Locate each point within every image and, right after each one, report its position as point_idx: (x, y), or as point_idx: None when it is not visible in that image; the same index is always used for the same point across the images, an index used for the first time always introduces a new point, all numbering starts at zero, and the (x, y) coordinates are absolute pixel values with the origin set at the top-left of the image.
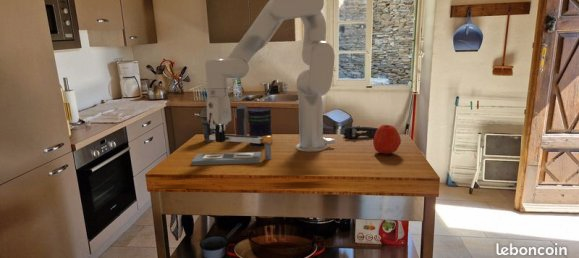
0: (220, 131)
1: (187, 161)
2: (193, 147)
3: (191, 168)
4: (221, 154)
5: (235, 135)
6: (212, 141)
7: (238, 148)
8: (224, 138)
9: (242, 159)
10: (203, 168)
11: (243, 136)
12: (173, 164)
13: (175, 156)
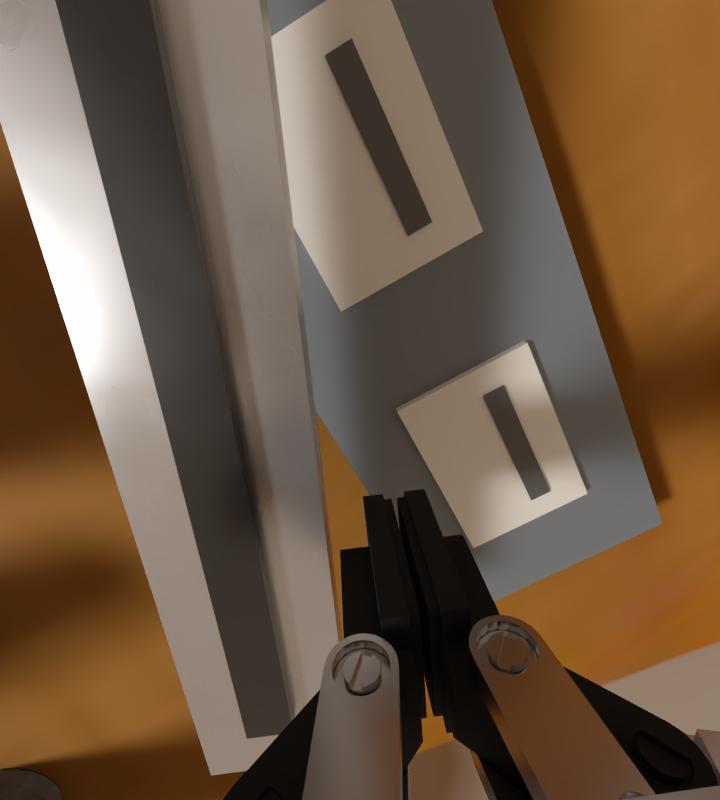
0: (526, 630)
1: (548, 592)
2: (215, 781)
3: (711, 453)
4: (424, 423)
5: (233, 415)
6: (17, 783)
7: (18, 498)
8: (383, 519)
9: (509, 64)
10: (703, 368)
11: (195, 211)
12: (633, 618)
13: None
